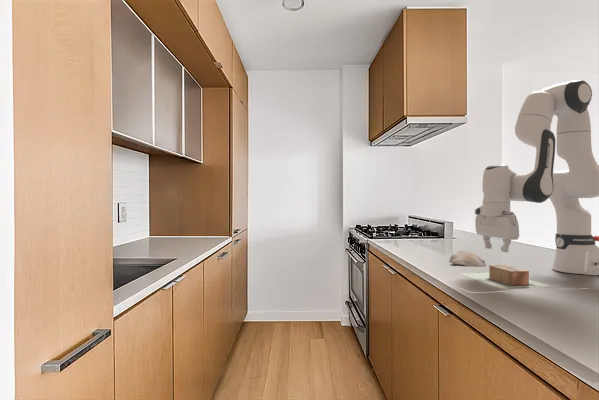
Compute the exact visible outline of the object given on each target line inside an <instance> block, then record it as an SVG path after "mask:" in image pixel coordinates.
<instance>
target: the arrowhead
mask: <svg viewBox="0 0 599 400" xmlns="http://www.w3.org/2000/svg"><path fill="white" fill-rule="evenodd" d="M449 260H450V263H451V264H452V265H456V266H457V265H458V266H465V267H475V268H481V267H482V268H483V267H484V268H485V267H486V266H487V264H486V260H485V259H483V258H482V257H480V256H479V255H477V254H476V253H474V252H471V251H467V250H459V251H457V253H454V254H452V255H451V256H450V258H449Z"/></svg>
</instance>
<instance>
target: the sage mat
mask: <svg viewBox="0 0 599 400" xmlns="http://www.w3.org/2000/svg"><path fill="white" fill-rule="evenodd" d="M458 274H459V275H461V276H464V277H467V278H470V279H472V280H475V281H478V282H481V283H483V284H486V285H489V286H491V287H495V288H497V289H505V288H506V289H508V288H509V289H510V288H511V289H512V288H531V287H532V288H536V287H537V288H539V287H540V288H541V287H550V285H549V284H545V283H542V282H538V281H534V280H532V279H529V285H516V286H511V285H508V284H505V283H502V282H499V281H496V280H493V279H490V278H489V272H464V273H463V272H462V273H459V272H458Z"/></svg>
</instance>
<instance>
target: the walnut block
mask: <svg viewBox="0 0 599 400" xmlns="http://www.w3.org/2000/svg"><path fill="white" fill-rule="evenodd" d="M488 269H489V270H488V271H489V272H488V273H489V278H490V279H493V280H496V281H499V282H502V283H505V284H508V285H511V286H516V285H529V280H530V277H529V273H530V270H527V269H523V268H519V267H515V266H511V265H506V264H489V267H488Z"/></svg>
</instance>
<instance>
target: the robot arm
mask: <svg viewBox="0 0 599 400" xmlns="http://www.w3.org/2000/svg"><path fill="white" fill-rule="evenodd" d="M592 98H593V91H592V88H591V86H590V84H588V82H586V80H581V79H576V80H570V81H566V82H561V83H557V84H554V85H552V86H549V87H545V88H543V89H538V90H536V91H533V92H531V93H530V94H528V96H526V98H525V100H524V101H523V104H522V106H521V108H520V111H519V113H518V115H517V119H516V123H515V125H514V133H515V136H516V138H517V139H518V140H519V141H520V142H522V143H524V144H525V145H528V146H530V147H533V148H535V151H536V152H535V159H534V160H535V161H534V167H533V170H532V171H531V172H529V173H517V172H515V171H513V170H511V169H510V168H509V165H508V164H505V163H500V164H498V163H497V164H492V165H488V166H487V167H485V168H484V170H483V175H482V186H481V187H482V193H483V199H482V205H480V206H479V207H476V208H475V209H474V215H475V221H474V223H475V225H474V226H475V233H476V234H477V235H479V236H482V240H483V242H484V249H488V250H490V249H492V247H493V244H492V243H491V237H492V238H497V239H502V242H503V244H502V246H501V247H500V251H501V252H502V253H509V247H510V245H511V243H512V241H516V240H519V238H520V226H519V220H518V219H517V215H516V214H515V213H514V212H513V211H511V202H529V203H536V204H537V203H538V204H542V203H544V202H546V201H547V200H550V201H551V203H552V205H553V207H554V210H555V215H556V217H555V218H556V233H555V240H554V241H555V246H556V247H555V255H554V259H553V263H552V267H551V270H553V271H556V272H561V273H567V274H575V275H576V274H577V275H578V274H579V275H586V276H599V246H597V244H596V242H599V236H598V235H595V236H593V235H592V215H591V213H590V211H588V210H586V209H585V208H584V207H583V206H582V204H581V203H580V200H579V199H593V198H598V197H599V164H598V163H597V161H596V159H595V156H594V154H593V147H592V130H591V129H592V125H591V118H590V113H589V110H588V107H589V105H590V102H591V101H592ZM554 116H556V117H557V122H556V137H555V134H554V133H553V131H552V130H551V126H552V122H553V118H554ZM555 154H557V156H558V157H559V158H561V159H563V160H565V162H566V163H567V166H568V169H564V170H563V169H562V170H560V169H559V170H555V171H554V165H555Z"/></svg>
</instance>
